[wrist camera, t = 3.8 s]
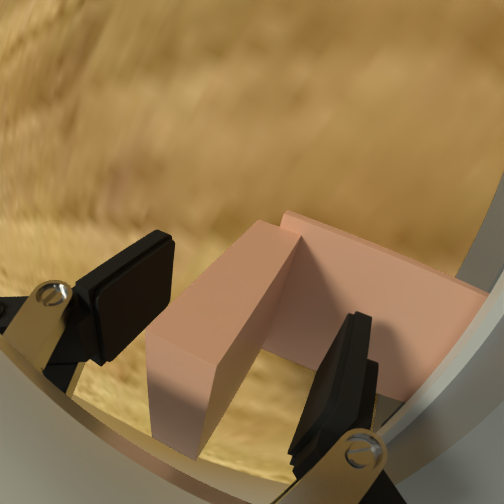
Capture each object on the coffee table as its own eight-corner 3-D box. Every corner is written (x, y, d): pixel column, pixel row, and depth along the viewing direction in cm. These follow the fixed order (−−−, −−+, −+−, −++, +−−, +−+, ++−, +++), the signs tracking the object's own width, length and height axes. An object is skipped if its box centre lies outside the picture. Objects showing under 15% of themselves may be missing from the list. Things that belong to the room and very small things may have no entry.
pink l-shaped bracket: (600, 351, 7) (637, 452, 1) (530, 429, 10) (538, 525, 4) (266, 202, 11) (145, 309, 5) (233, 329, 14) (152, 443, 8)
